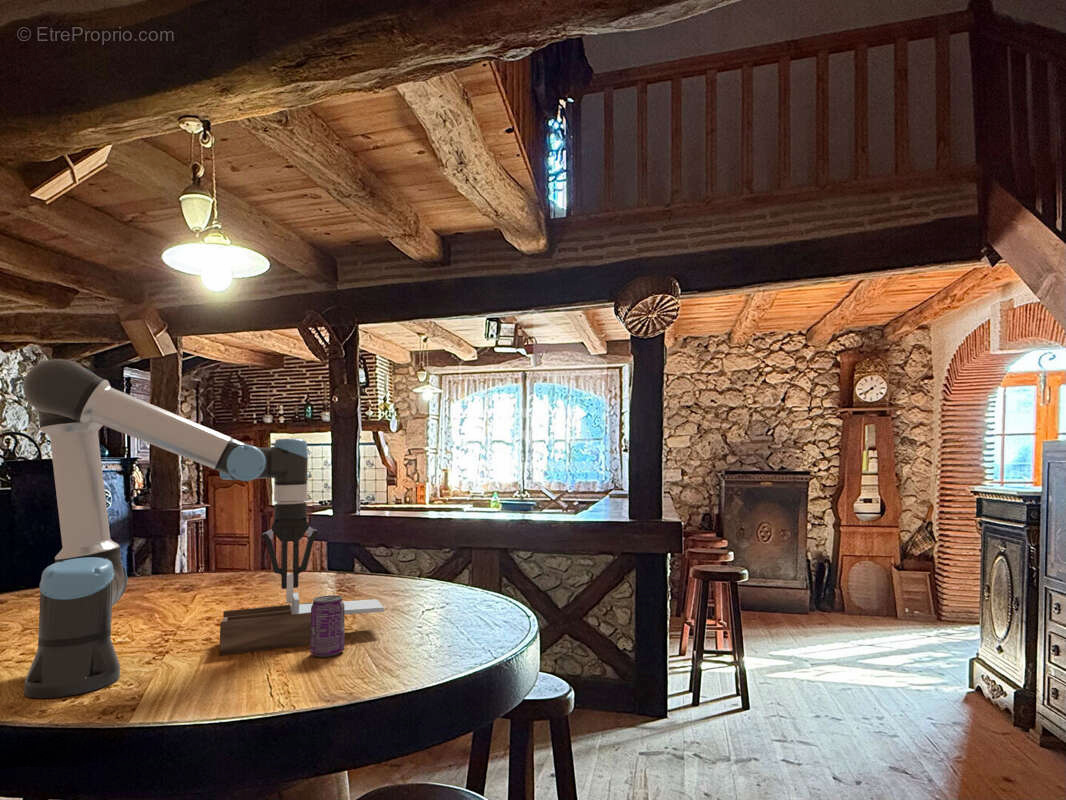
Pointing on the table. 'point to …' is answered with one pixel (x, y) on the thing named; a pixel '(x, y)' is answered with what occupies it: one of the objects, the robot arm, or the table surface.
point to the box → (263, 629)
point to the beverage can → (327, 626)
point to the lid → (349, 606)
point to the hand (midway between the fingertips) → (289, 602)
